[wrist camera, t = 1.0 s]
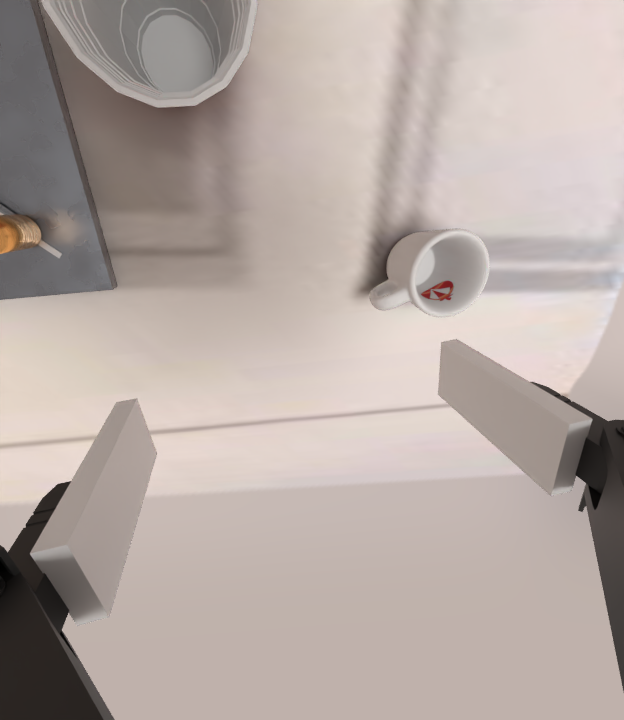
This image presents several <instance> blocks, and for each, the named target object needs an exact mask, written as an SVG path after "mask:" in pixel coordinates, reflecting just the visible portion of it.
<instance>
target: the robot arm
mask: <svg viewBox="0 0 624 720" xmlns="http://www.w3.org/2000/svg"><path fill="white" fill-rule="evenodd" d="M438 395H439V396H440V397H441V398H442V399H444V400H445V401H446V402H447V403H448V404H449V405H450V406H451V407H452V408H454V409H455V410H456V411H457V412H458V413H459V414H460V415H461V416H462V417H463V418H465V419H466V420H467V421H468V422H469V423H470V424H471V425H472V426H473V427H475V428H476V429H477V430H478V431H479V432H480V433H481V434H482V435H483V436H485V437H486V438H487V439H488V440H489V441H490V442H491V443H492V444H493V445H495V446H496V447H497V448H498V449H499V450H500V451H501V452H502V453H503V454H504V455H506V456H507V457H508V458H509V459H510V460H511V461H512V462H513V463H514V464H516V465H517V466H518V467H519V468H520V469H521V470H522V471H523V472H524V473H526V474H527V475H528V476H529V477H530V478H531V479H532V480H533V481H534V482H536V483H537V484H538V485H539V486H540V487H541V488H542V489H543V490H544V491H546V492H547V493H548V494H549V495H550V496H554V495H557V494H561V493H564V492H568V491H571V490H572V488H573V484H574V481H575V478H576V476H578V477H579V478H580V479H582V480H583V481H584V482H585V483H586V486H585V489H584V492H583V495H582V498H581V502H580V505H579V511H581V512H582V511H583V510H584V507H585V506H587V511H588V516H589V521H590V526H591V531H592V536H593V541H594V545H595V551H596V556H597V561H598V566H599V571H600V576H601V581H602V585H603V590H604V595H605V600H606V606H607V611H608V616H609V620H610V625H611V630H612V636H613V641H614V645H615V651H616V656H617V661H618V665H619V670H620V676H621V680H622V686H623V690H624V420H612V421H607V420H605V419H603V418H601V417H600V416H598V415H596V414H594V413H592V412H591V411H589V410H587V409H585V408H583V407H582V406H580V405H578V404H576V403H575V402H571V401H570V399H568V398H566V397H564V396H561V395H560V394H559V393H557V392H556V391H554V390H552V389H550V388H549V387H546V386H543V385H540V384H537V383H534V382H529V381H527V380H525V379H524V378H522V377H520V376H519V375H517V374H515V373H513V372H512V371H510V370H508V369H507V368H505V367H503V366H501V365H500V364H498V363H496V362H495V361H493V360H491V359H490V358H488V357H486V356H484V355H483V354H481V353H479V352H478V351H476V350H474V349H472V348H471V347H469V346H467V345H466V344H464V343H462V342H460V341H459V340H457V339H456V340H450V341H445V342H441V356H440V372H439V388H438ZM156 455H157V452H156V450H155V447H154V444H153V441H152V439H151V436H150V433H149V430H148V428H147V425H146V422H145V419H144V416H143V414H142V411H141V408H140V405H139V403H138V400H137V399H132V400H127V401H121V402H116V404H115V406H114V408H113V409H112V411H111V413H110V415H109V416H108V418H107V420H106V422H105V423H104V425H103V427H102V429H101V430H100V432H99V434H98V435H97V437H96V439H95V441H94V442H93V444H92V446H91V448H90V449H89V451H88V453H87V455H86V456H85V458H84V460H83V462H82V463H81V465H80V467H79V469H78V470H77V472H76V474H75V476H74V477H73V479H72V481H70V482H65V483H61V484H57V485H56V486H55V487H54V488H53V489H52V490H51V491H50V492H49V493H48V494H47V495H46V496H44V497H43V498H42V500H41V502H40V503H39V505H38V506H37V508H36V509H35V511H34V512H33V513H34V515H32V516H31V517H30V519H29V520H28V522H27V523H26V528H23V530H22V531H21V533H20V534H19V536H18V538H17V539H16V541H15V542H14V544H13V545H12V547H11V549H10V550H9V552H8V553H7V551H6V550H5V549H4V548H3V547H2V546H1V545H0V720H114V718H113V716H112V715H111V713H110V711H109V709H108V708H107V706H106V704H105V703H104V701H103V699H102V697H101V696H100V694H99V692H98V691H97V689H96V687H95V685H94V684H93V682H92V681H91V679H90V677H89V675H88V673H87V672H86V670H85V668H84V667H83V665H82V663H81V661H80V660H79V658H78V656H77V655H76V653H75V651H74V649H73V648H72V646H71V644H70V642H69V641H68V639H67V637H66V636H65V634H64V633H63V632H62V628H63V625H64V622H65V620H66V617H67V615H68V612H69V613H70V615H71V617H72V618H73V620H74V622H75V623H76V625H77V626H79V625H82V624H86V623H90V622H93V621H97V620H101V619H104V618H108V617H109V616H110V613H111V610H112V606H113V603H114V599H115V596H116V592H117V589H118V586H119V582H120V579H121V575H122V572H123V568H124V565H125V562H126V558H127V555H128V551H129V548H130V544H131V541H132V538H133V534H134V530H135V527H136V524H137V520H138V517H139V513H140V510H141V506H142V503H143V500H144V496H145V493H146V490H147V486H148V483H149V479H150V476H151V472H152V469H153V466H154V462H155V459H156Z"/></svg>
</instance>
